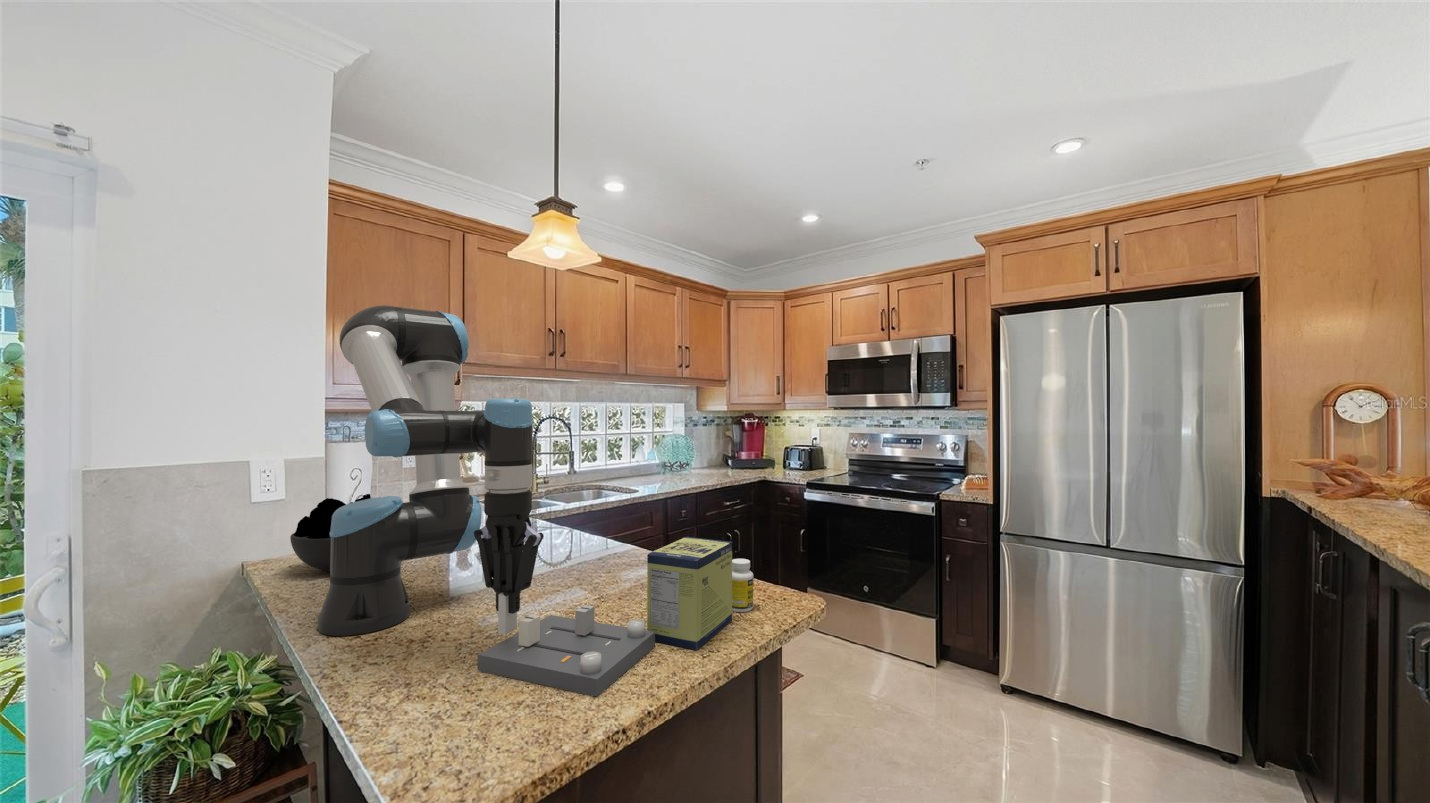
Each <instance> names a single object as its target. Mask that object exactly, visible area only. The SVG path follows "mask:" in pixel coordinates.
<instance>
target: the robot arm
mask: <svg viewBox="0 0 1430 803" xmlns="http://www.w3.org/2000/svg"><path fill="white" fill-rule="evenodd" d="M469 342H470V341H469V336H468V330H467V328H466V325H465V323H464V322H463V321H462V319H460V317H459V316H457V315H455V314H453V313H447V312H442V311H439V310H435V311H434V310H433V311H432V310H426V309H417V308H408V307H400V306H394V305H375V306H370V307H367V308H364V309H363V310H359V311H358V312H356V313H354V314H353V315H352V316H351V317H350V318H349V319H348V320H347V321H346V322H345V323H344V324H343V327H342V328H341V330H340V334H339V347H340V350H341V353H342V355H343V358H344V359H345V360H346V361H347V362H348V363H349V364H351V365H353V367H354V370H355V372H356V374H357V377H358V379H359V383H360V385H361V387H362V390H363V392H364V394H365V397H366V399H367V402H368V404H369V407H370V410H371V411H370V412H369V413H368V415H367V417H366V418H365V424H364V440H365V447H366V450H367V452H368V453H369V454H370V455H371V456H374V457H393V458H400V457H413V456H414V458H415V459H414V460H415V480H416V485H415V487H414V488H413V489H412V490H410V492H409V493H408V498H409V499H408V500H409V501H407V502H403V500H402V498H401V497H400V496H396V495H388V496H379V497H377V496H376V497H371V499H366V500H361V501H357V502H355V501H352V502H353V503H350V502H349V503H350V504H349V503H347V504H346V505H344V506H342V507H340V508H338V509H337V510H336V511H335V512H334V513H333V515H332V521H331V530H330V533H329V535H330V537H331V556H330V571H329V572H330V573H329V588H328V590H327V592H326V595H325V599H324V601H323V604H322V606H321V610H320V613H319V614H318V618H317V631H318V632H319V633H321V634H323V635H327V636H333V637H334V636H335V637H336V636H338V637H340V636H346V637H347V636H355V635H362V634H368V633H373V632H377V631H381V630H384V629H388V628H391V627H393V626H396V625H398V624H400V623H401V622H404V621H405V620H406V619H408V618H409V617H410V616H411V601H410V599H409V596H408V593H407V590H406V587H405V584H404V582H403V579H402V574H401V568H402V567H401V566H402V565H401V564H402V562H404V561H409V560H416V559H422V558H428V557H434V556H440V555H446V554H447V555H449V554H453V553H457V552H460V551H465V550H467V549H469V548H471V547H472V546H473V545H474V544H475V542H477V545H478V550H479V555H480V556H479V557H480V560H481V561H480V563H481V567H482V572H483V579H484V584H485V587H486V588H488V589H489V588H491V589H493V591H494V593H495V609H496V612H498V618H497V619H498V622H497V623H498V624H497V626H498V630H497V631H498V635H502V636H503V635H504V636H506V635H508V634H510V633H512V632H514V631H516V630H517V629H518V618H517V617H518V612H520V609H521V605H520V604H521V592H523V591H524V590H526V589H529V588H531V585H532V581H533V576H534V570H535V567H536V566H535V565H536V560H537V556H538V551H539V546H541V544H542V541H543V540H544V536H545V535H544V533H543V532H537V531H536V530H534V528H532V526H533V525H532V522H531V519H530V514H531V512H532V510H533V492H532V491H531V489H530V488H531V487H532V486H533V430H534V429H533V426H534V425H533V424H534V418H533V410H532V409H533V406H532V403H531V401H530V400H528V399H527V398H489V399H487V401H486V402H485V405H484V406H485V407H484V410H483V409H482V410H481V409H479V410H477V409H475V410H457V406H456V393H455V392H456V390H455V375H456V374H457V373H458V372H459V371H460V370H461V365H462V364H464V363H465V362H466V361H467V358H468V356H469V348H470V343H469ZM409 377H410V379H409ZM471 453H472V454H473V453H484V489H486V490H488V491H486V492H485V494H484V495H483V496H484V499H483V500H484V501H483V502H484V506H483V507H484V508H483V509H484V510H483V511H484V514H485V515H486V516H487V518H486V520H485V524H484V525H483V526H482V527H481V525H482V518H483V516H482V515H483V512H482V505H481V503H480V499H479V497H478V496H477V495H473V494H470V486H469V485H468V484H466V483H465V482H464V481H463V480H462V476H461V464H460V461H461V460H460V454H471Z"/></svg>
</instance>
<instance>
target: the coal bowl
mask: <svg viewBox="0 0 1430 803" xmlns="http://www.w3.org/2000/svg"><path fill="white" fill-rule="evenodd" d="M371 498H372V497H371V494H370V493H367V494H364V495H363V496H362V497H360V498H357V499H354V501H350V502H349V503H348V504H350V503H353V502H357V501H361V500H366V499H371ZM344 505H347V504H346V503H345V502H343V501H341V500H340V499H335V498H333V497H331V498H329V497H327V498H325V499H323V500H321V501H320V502H318V504H317V505H316V507H315V508H313V509H312V510H311V511H310V512H309V516H308V515H305V516H303V517H302V518H301V519H300V520H299V521H298V523H297V526H296V529H295V531H294V532H293V533H291V535H290V538H289V539H290V544H291V547H292V550H293V551H294V554H295V555H296V557H298V558H299V560H301V562H303V563H304V564H306V565H307V566H309V567H311V568H314V569H316V570H321V571H329V572H330V556H331V537H330V535H329V533H330V530H331V521H332V515H333V513H334V512H335V511H336V510H337V509H338V508H340V507H342V506H344Z"/></svg>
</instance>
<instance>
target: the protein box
mask: <svg viewBox="0 0 1430 803" xmlns="http://www.w3.org/2000/svg"><path fill="white" fill-rule="evenodd" d="M732 560H733V541H727V540H719V539H710V538H709V539H708V538H699V537H692V536H685V537H682V538H681V539H678V540H675V541H674V542H671V543H670V544H667V545H665V546H661V547H660V548H658V549H655V550H653V551H651V552H649V553H647V560H646V561H647V564H646V565H647V572H646V573H647V574H646V576H647V582H646V584H647V587H646V588H647V589H646V590H647V594H646V595H647V598H646V599H647V600H646V601H647V602H646V604H647V606H646V607H647V608H646V609H647V610H646V615H647V616H646V617H647V618H646V620H647V621H646V622H647V624H646V625H647V626H646V628H647V629H646V631H652V632H655V643H656V642H657V643H661V644H667V645H671V646H676V647H680V648H683V649H684V648H685V649H690V650H694V651H698V650H699V649H700V648H702V647H703V646H704V645H706V644H707V642H709V641H710V640H711V639H713V637H715V636H716V635H717V634H718V633H719V632H720V631H721V630H723V629H724V628H725V627H726V626H728V625H729V624H730V623H731V622H732V621H733V611H732Z"/></svg>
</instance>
